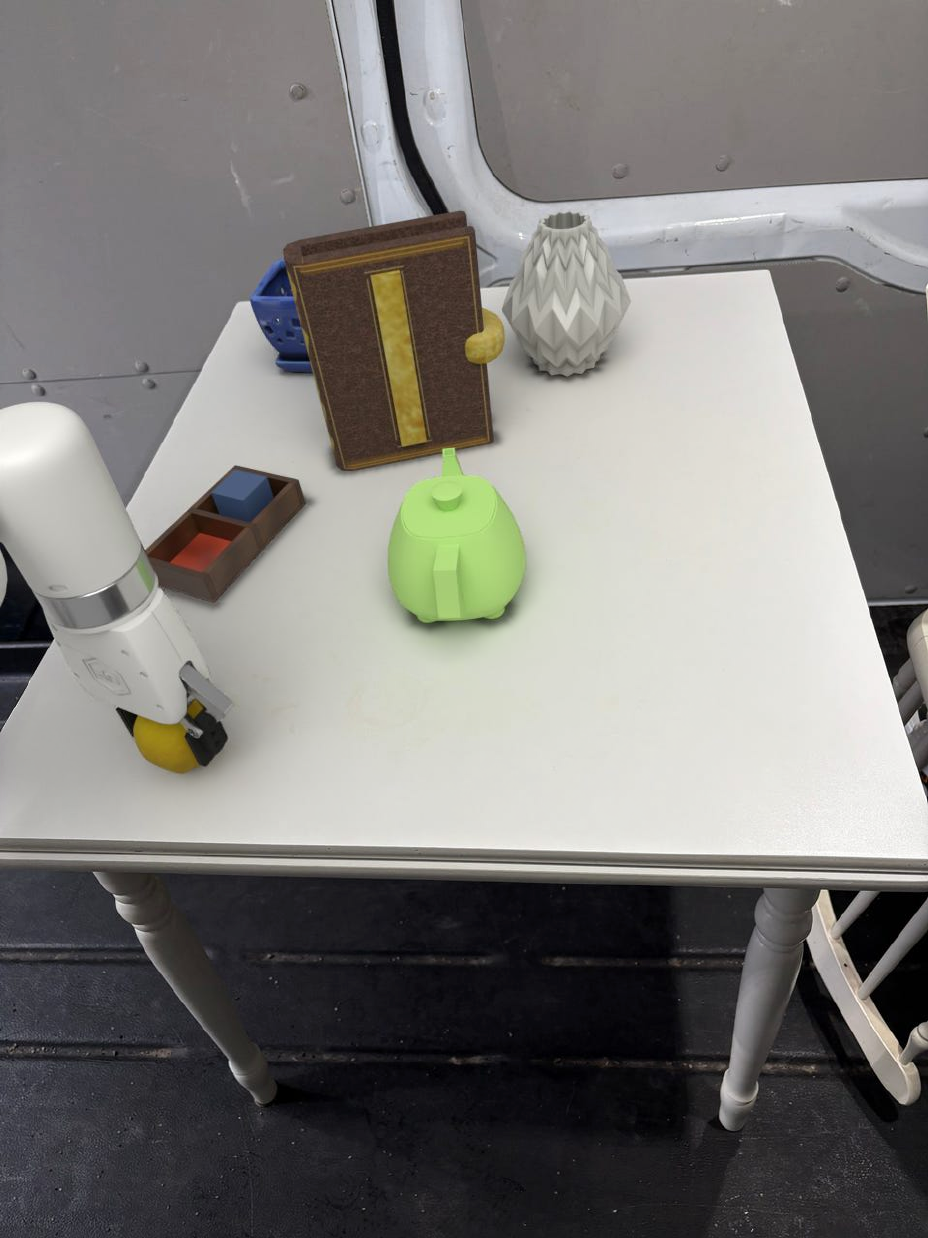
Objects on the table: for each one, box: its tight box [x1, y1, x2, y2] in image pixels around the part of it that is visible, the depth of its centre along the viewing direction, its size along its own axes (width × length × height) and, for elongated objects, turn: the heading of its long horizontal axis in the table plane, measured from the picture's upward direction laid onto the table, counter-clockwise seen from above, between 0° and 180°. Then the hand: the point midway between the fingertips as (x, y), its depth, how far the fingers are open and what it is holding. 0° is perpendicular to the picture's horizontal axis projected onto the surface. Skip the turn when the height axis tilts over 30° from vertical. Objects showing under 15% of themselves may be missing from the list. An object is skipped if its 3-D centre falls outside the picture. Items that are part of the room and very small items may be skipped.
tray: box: [145, 464, 307, 603], centre depth 92 cm, size 17×9×3 cm, turn 154°
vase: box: [501, 209, 632, 378], centre depth 106 cm, size 16×16×18 cm
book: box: [282, 210, 506, 472], centre depth 94 cm, size 22×8×25 cm, turn 101°
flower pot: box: [249, 258, 313, 373], centre depth 117 cm, size 13×13×12 cm
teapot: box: [387, 448, 527, 624], centre depth 80 cm, size 20×13×13 cm
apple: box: [133, 700, 203, 775], centre depth 69 cm, size 6×6×8 cm
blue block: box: [211, 470, 274, 523], centre depth 94 cm, size 4×4×4 cm
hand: (180, 737), depth 70 cm, fingers closed on apple, 6 cm apart
